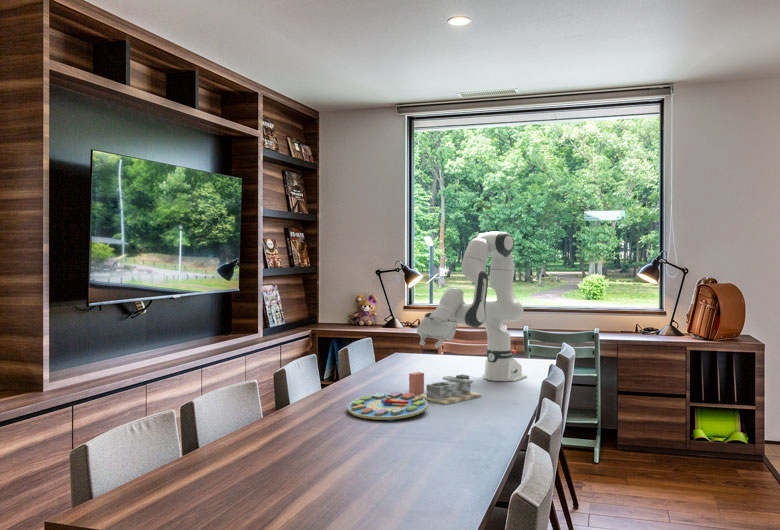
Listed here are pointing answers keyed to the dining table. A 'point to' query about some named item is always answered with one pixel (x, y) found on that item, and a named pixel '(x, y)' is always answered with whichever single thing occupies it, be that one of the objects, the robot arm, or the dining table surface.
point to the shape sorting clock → (388, 406)
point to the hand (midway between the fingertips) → (428, 345)
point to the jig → (450, 390)
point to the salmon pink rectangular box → (416, 383)
